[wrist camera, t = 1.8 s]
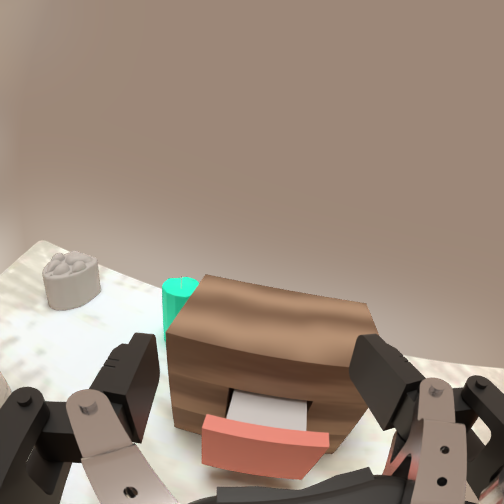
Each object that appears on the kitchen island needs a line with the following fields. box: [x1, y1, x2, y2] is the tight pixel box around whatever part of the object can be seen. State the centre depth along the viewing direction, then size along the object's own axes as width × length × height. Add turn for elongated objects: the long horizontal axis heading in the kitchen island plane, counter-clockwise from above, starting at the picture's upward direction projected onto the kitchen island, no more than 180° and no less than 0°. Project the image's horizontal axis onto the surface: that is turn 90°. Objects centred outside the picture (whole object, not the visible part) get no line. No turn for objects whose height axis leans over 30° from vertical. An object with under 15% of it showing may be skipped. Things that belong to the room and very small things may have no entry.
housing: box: [165, 275, 379, 454], centre depth 29 cm, size 12×20×16 cm, turn 82°
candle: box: [162, 277, 199, 342], centre depth 42 cm, size 6×6×12 cm
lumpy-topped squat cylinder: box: [42, 251, 101, 310], centre depth 46 cm, size 10×13×9 cm
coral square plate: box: [202, 389, 329, 480], centre depth 22 cm, size 10×10×8 cm
